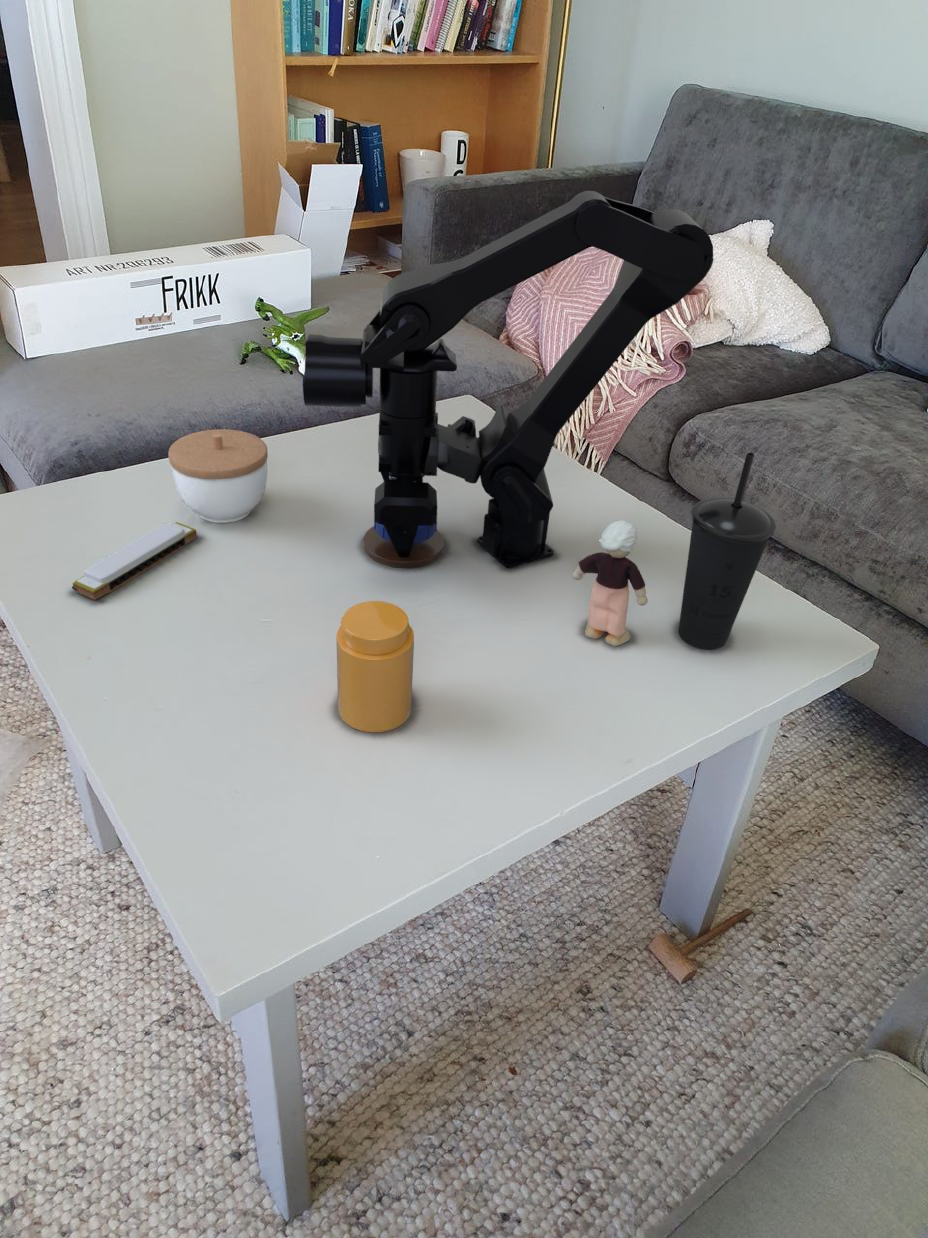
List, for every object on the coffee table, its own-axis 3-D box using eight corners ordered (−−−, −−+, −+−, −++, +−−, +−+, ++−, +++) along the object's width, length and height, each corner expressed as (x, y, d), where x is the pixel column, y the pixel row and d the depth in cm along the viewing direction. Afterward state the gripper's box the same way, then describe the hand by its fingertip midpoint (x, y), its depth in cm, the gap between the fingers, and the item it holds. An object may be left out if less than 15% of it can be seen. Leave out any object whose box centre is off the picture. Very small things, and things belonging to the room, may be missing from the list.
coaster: (419, 519, 107) (419, 513, 107) (458, 556, 101) (459, 550, 101) (349, 536, 103) (349, 530, 103) (386, 575, 97) (386, 569, 97)
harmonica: (176, 530, 102) (174, 515, 101) (197, 538, 101) (195, 523, 100) (73, 592, 91) (69, 575, 90) (95, 602, 90) (91, 585, 89)
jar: (378, 674, 84) (379, 588, 78) (426, 710, 81) (430, 622, 75) (323, 705, 80) (320, 616, 75) (370, 743, 77) (370, 653, 71)
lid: (362, 531, 99) (362, 517, 98) (393, 504, 104) (394, 489, 103) (417, 551, 97) (418, 536, 96) (447, 521, 102) (448, 507, 101)
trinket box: (250, 540, 101) (243, 463, 96) (159, 525, 103) (148, 448, 97) (284, 495, 110) (280, 422, 104) (201, 482, 111) (192, 409, 106)
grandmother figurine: (642, 631, 92) (666, 522, 85) (635, 653, 89) (660, 541, 82) (568, 613, 94) (585, 504, 86) (559, 633, 91) (576, 523, 83)
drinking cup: (655, 613, 95) (696, 434, 83) (726, 613, 96) (776, 436, 84) (675, 659, 89) (722, 473, 77) (751, 658, 89) (808, 475, 78)
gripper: (493, 451, 86) (481, 588, 95) (481, 376, 101) (471, 501, 110) (374, 447, 85) (373, 586, 94) (379, 372, 100) (378, 498, 109)
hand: (404, 539), depth 102 cm, fingers closed on lid, 7 cm apart
